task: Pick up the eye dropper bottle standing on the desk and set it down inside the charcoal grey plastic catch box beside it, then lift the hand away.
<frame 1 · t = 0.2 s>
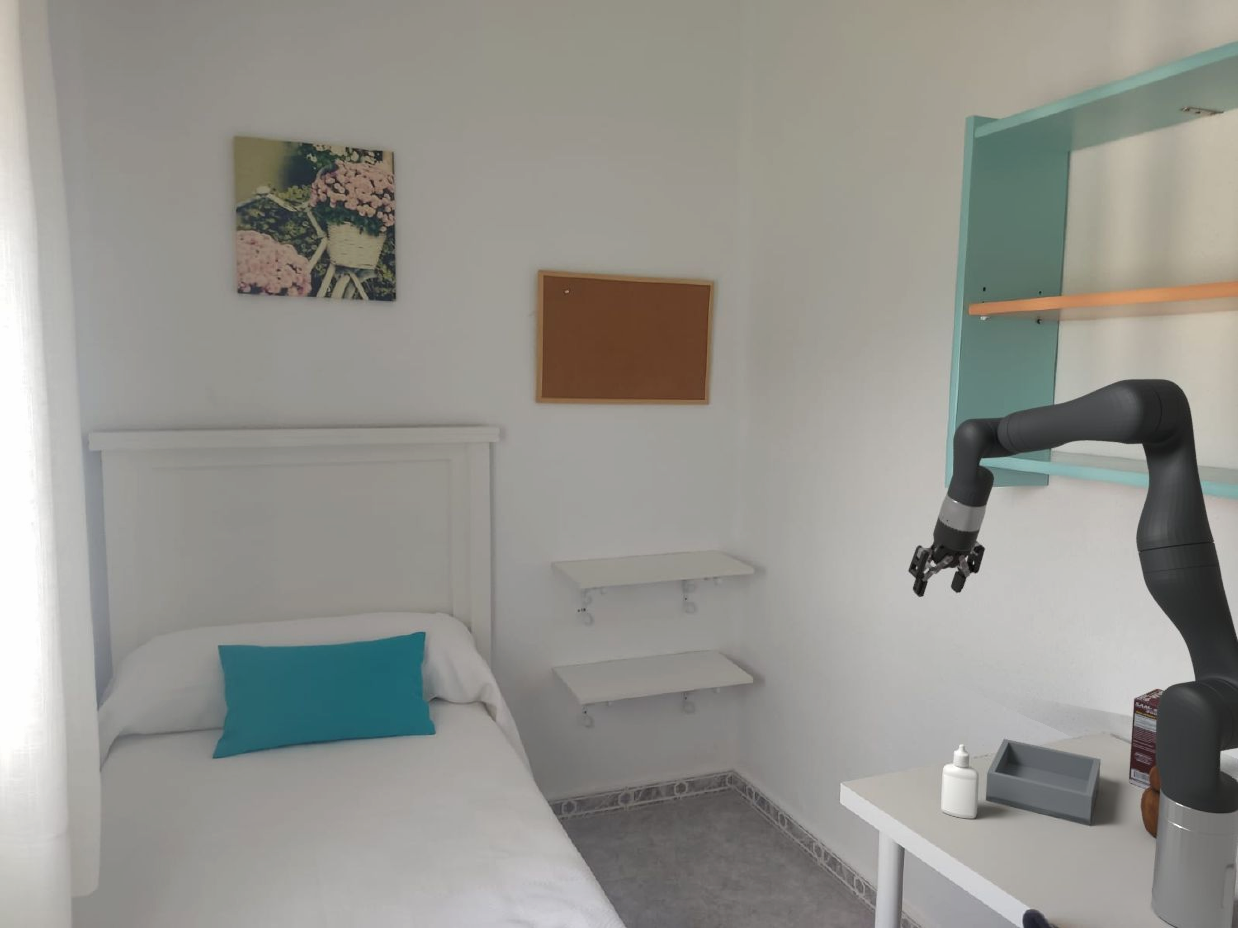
hand: (936, 592, 174), 31 cm above the table, tool tilted 20°, fingers open, 8 cm apart
supplement box: (1152, 782, 164), on the table
wooden figurine: (1161, 835, 146), on the table
catch box: (1043, 792, 160), on the table
eye dropper bottle: (958, 814, 153), on the table
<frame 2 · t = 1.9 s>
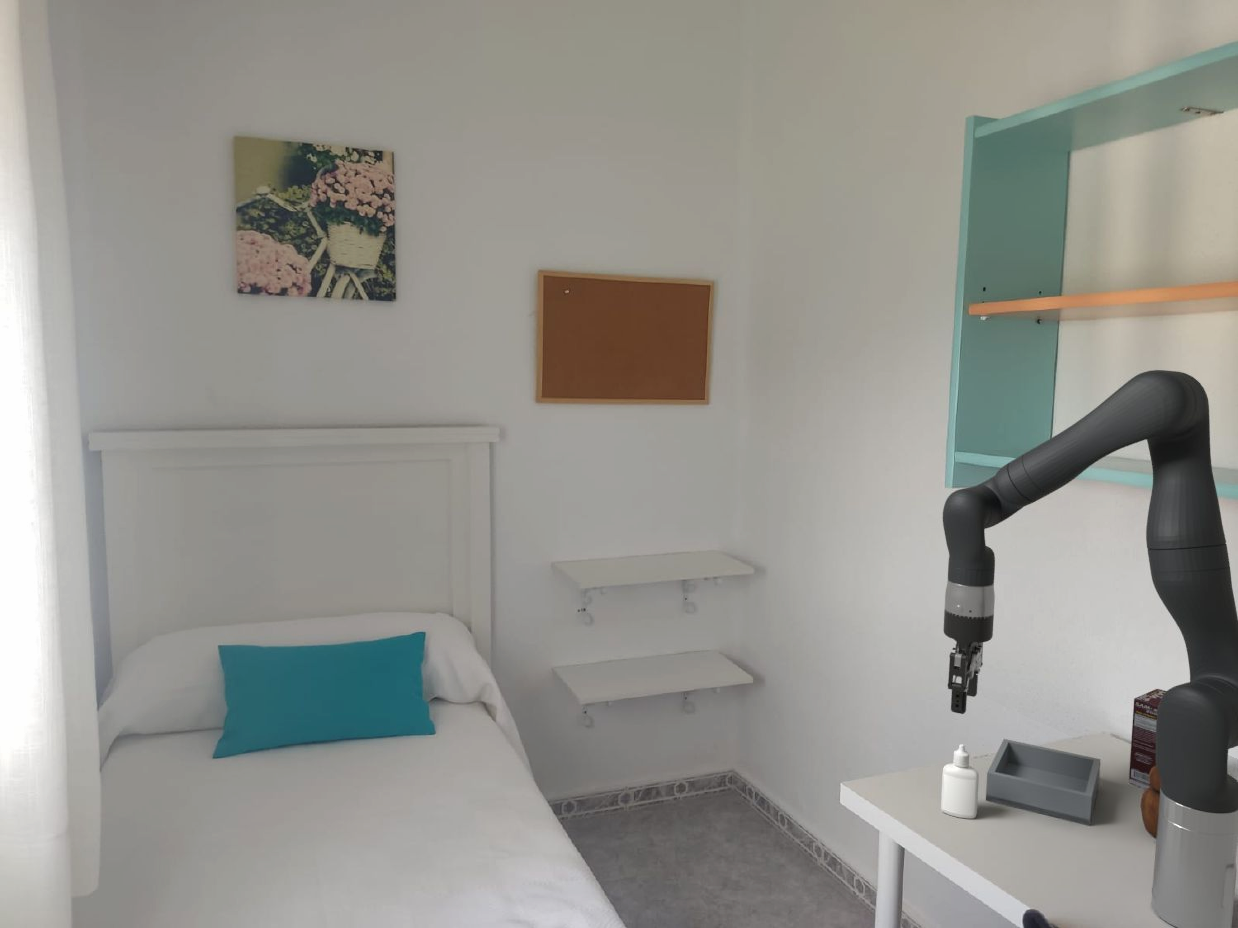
hand: (964, 703, 150), 19 cm above the table, tool pointing down, fingers open, 8 cm apart
nothing on the table moved.
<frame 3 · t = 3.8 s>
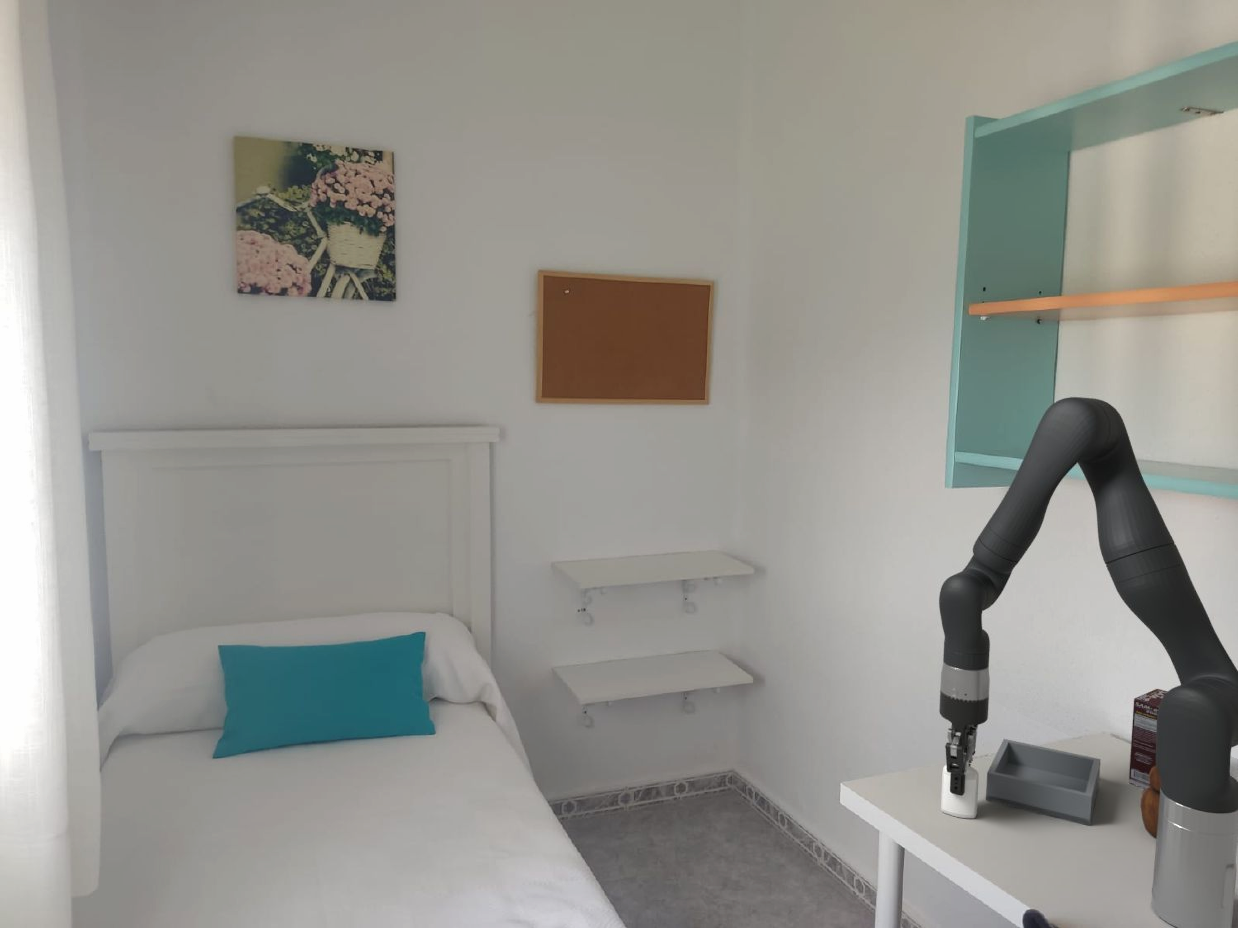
hand: (959, 787, 152), 4 cm above the table, tool pointing down, fingers closed on eye dropper bottle, 3 cm apart
eye dropper bottle: (958, 813, 153), on the table, touching gripper
everything else where it was.
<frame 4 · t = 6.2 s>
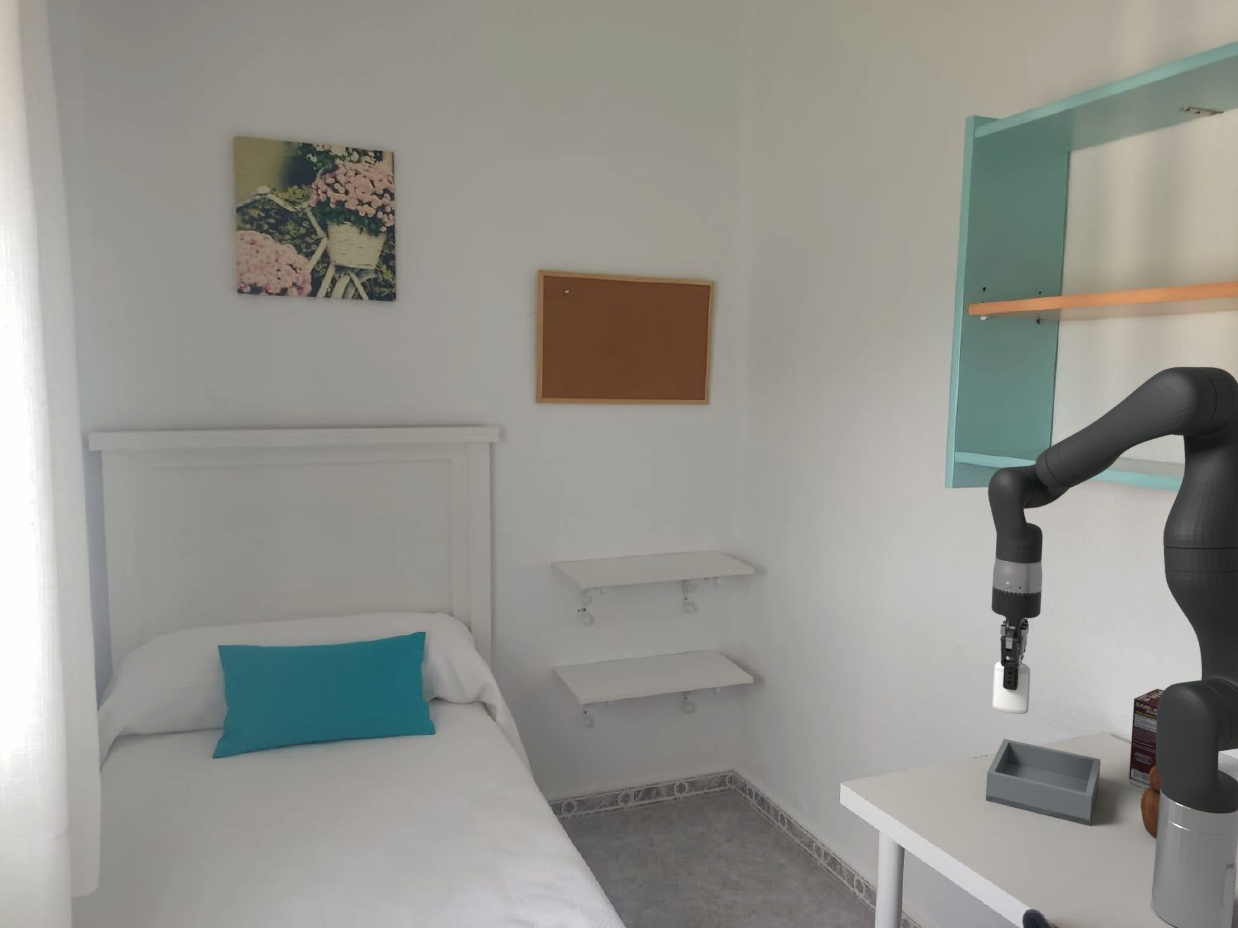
hand: (1011, 684, 154), 21 cm above the table, tool pointing down, fingers closed on eye dropper bottle, 3 cm apart
eye dropper bottle: (1010, 710, 154), point 16 cm above the table, touching gripper
everything else where it was.
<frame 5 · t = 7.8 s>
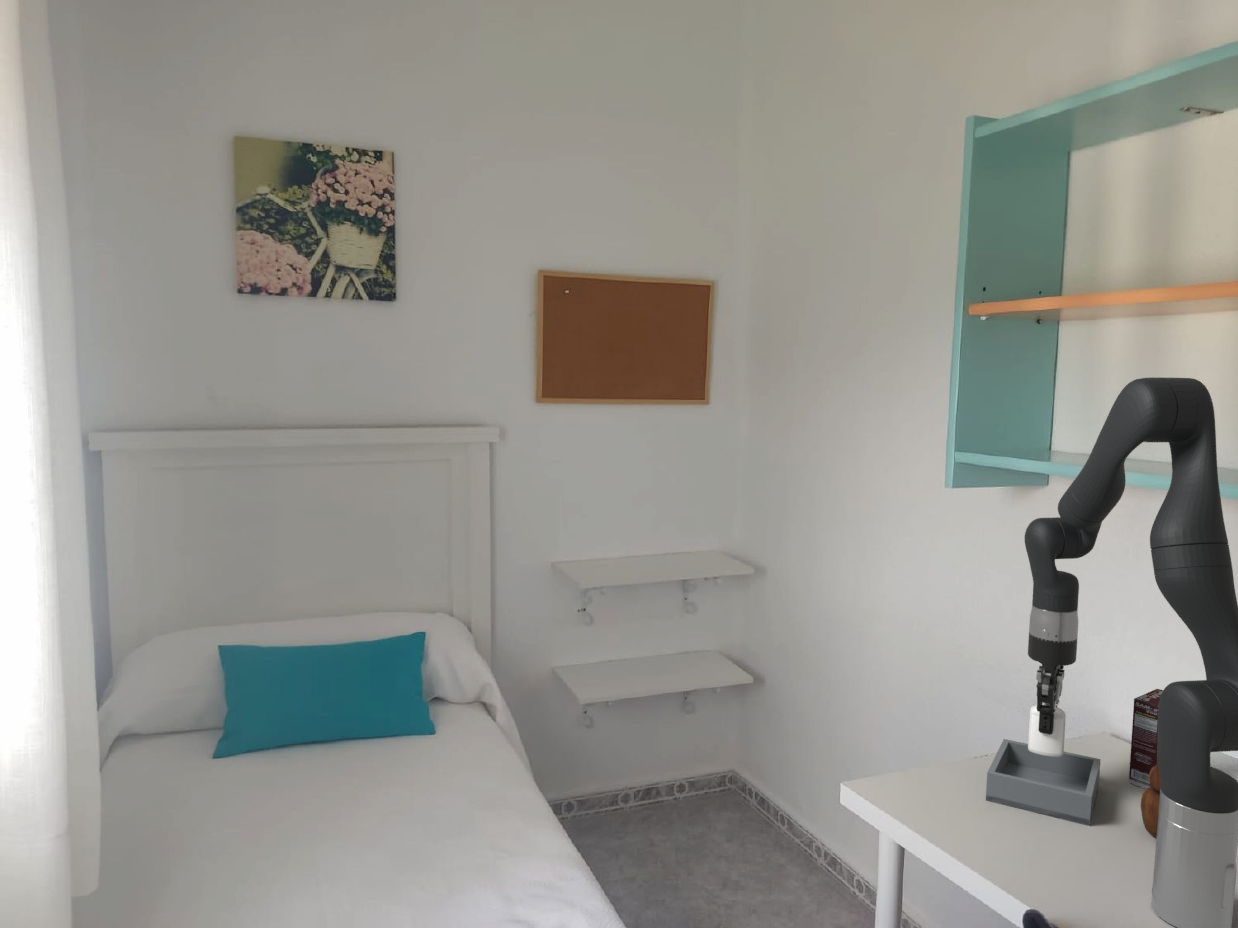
hand: (1047, 728, 158), 12 cm above the table, tool pointing down, fingers closed on eye dropper bottle, 3 cm apart
eye dropper bottle: (1045, 753, 159), point 7 cm above the table, touching gripper
everything else where it was.
when the fingers open (7 cm above the table, at t = 8.9 s): eye dropper bottle drops 1 cm, resting on catch box.
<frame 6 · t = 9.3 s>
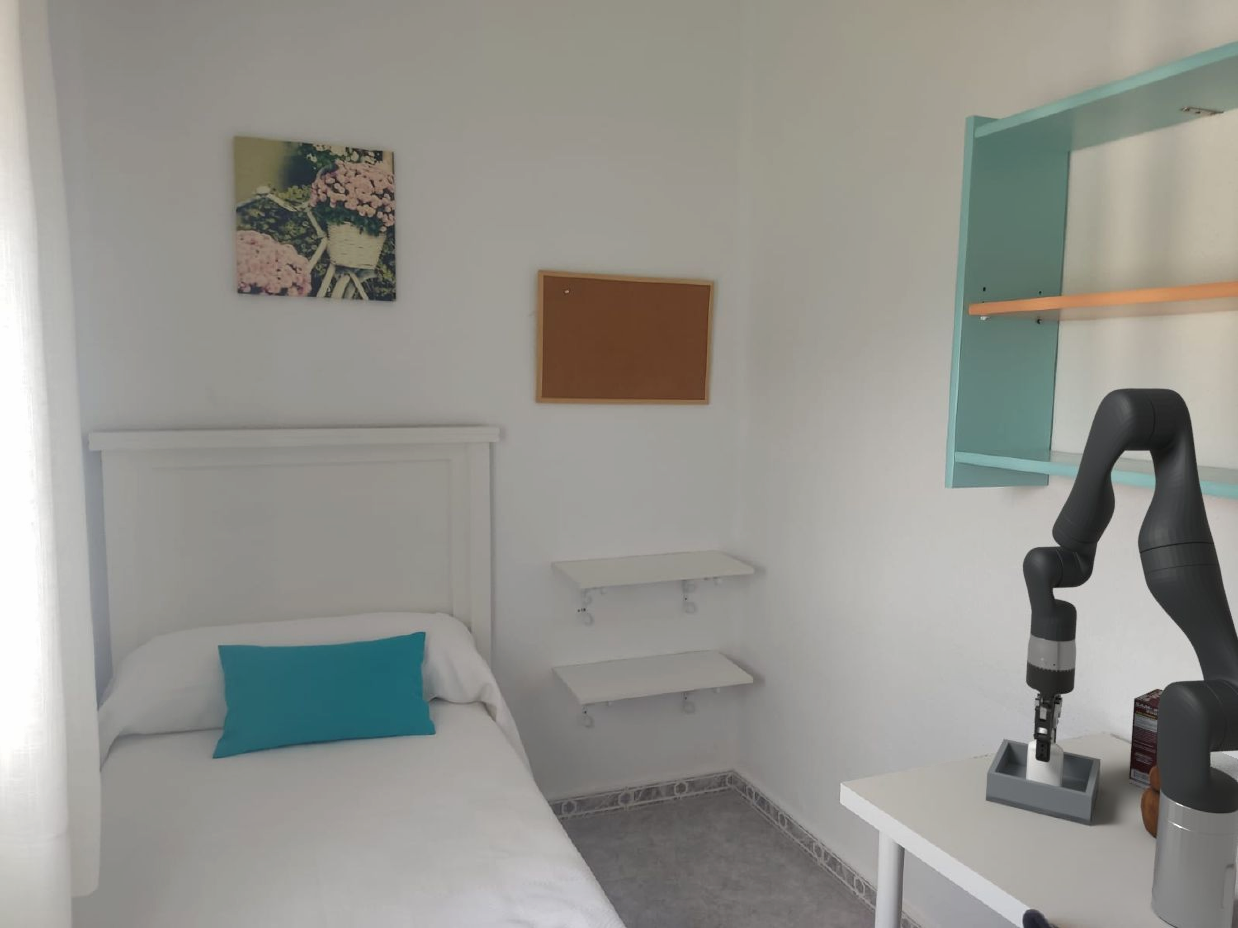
hand: (1045, 752, 159), 7 cm above the table, tool pointing down, fingers open, 7 cm apart
eye dropper bottle: (1043, 788, 159), point 1 cm above the table, touching catch box
everything else where it was.
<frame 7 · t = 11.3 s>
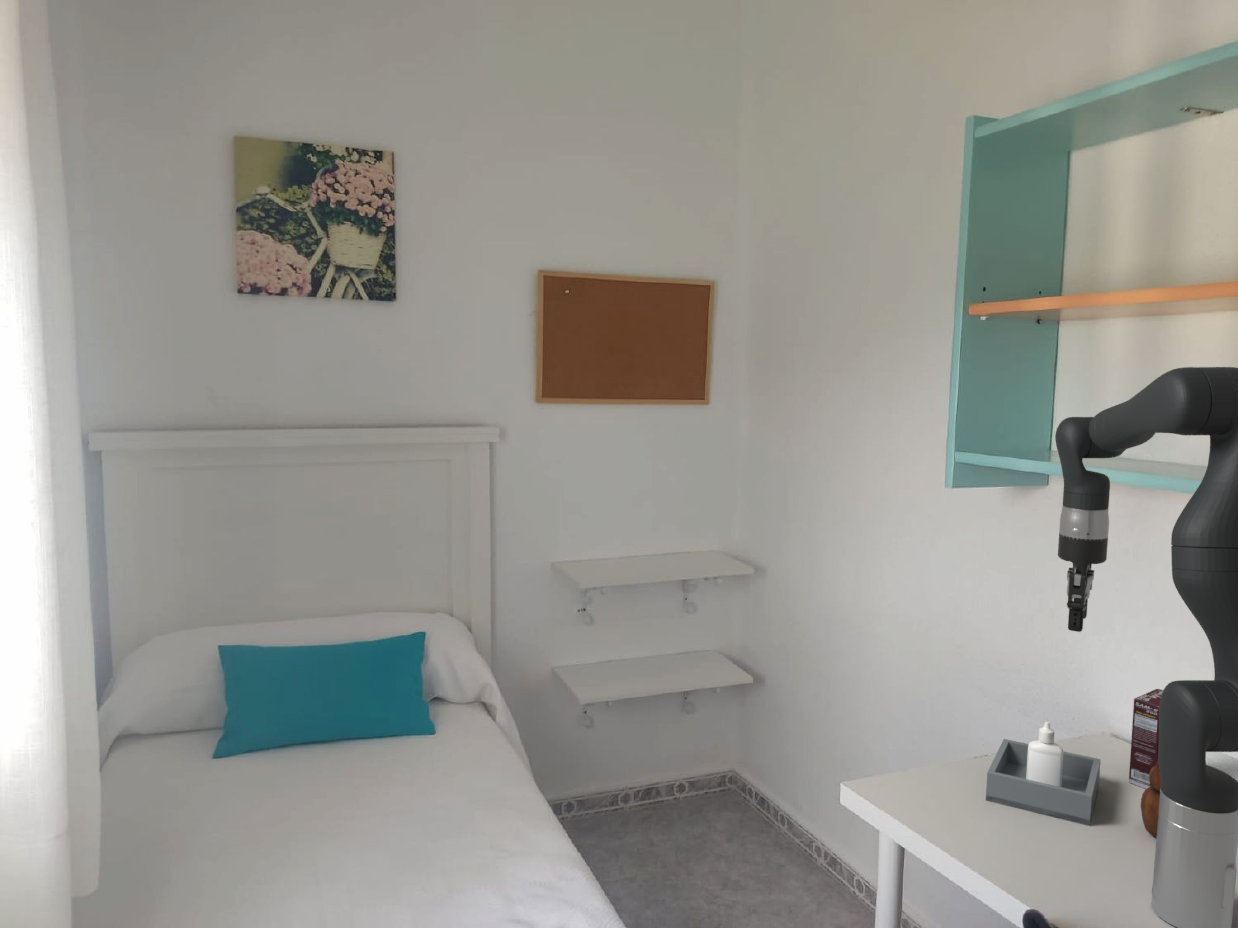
hand: (1077, 623, 159), 30 cm above the table, tool pointing down, fingers open, 8 cm apart
nothing on the table moved.
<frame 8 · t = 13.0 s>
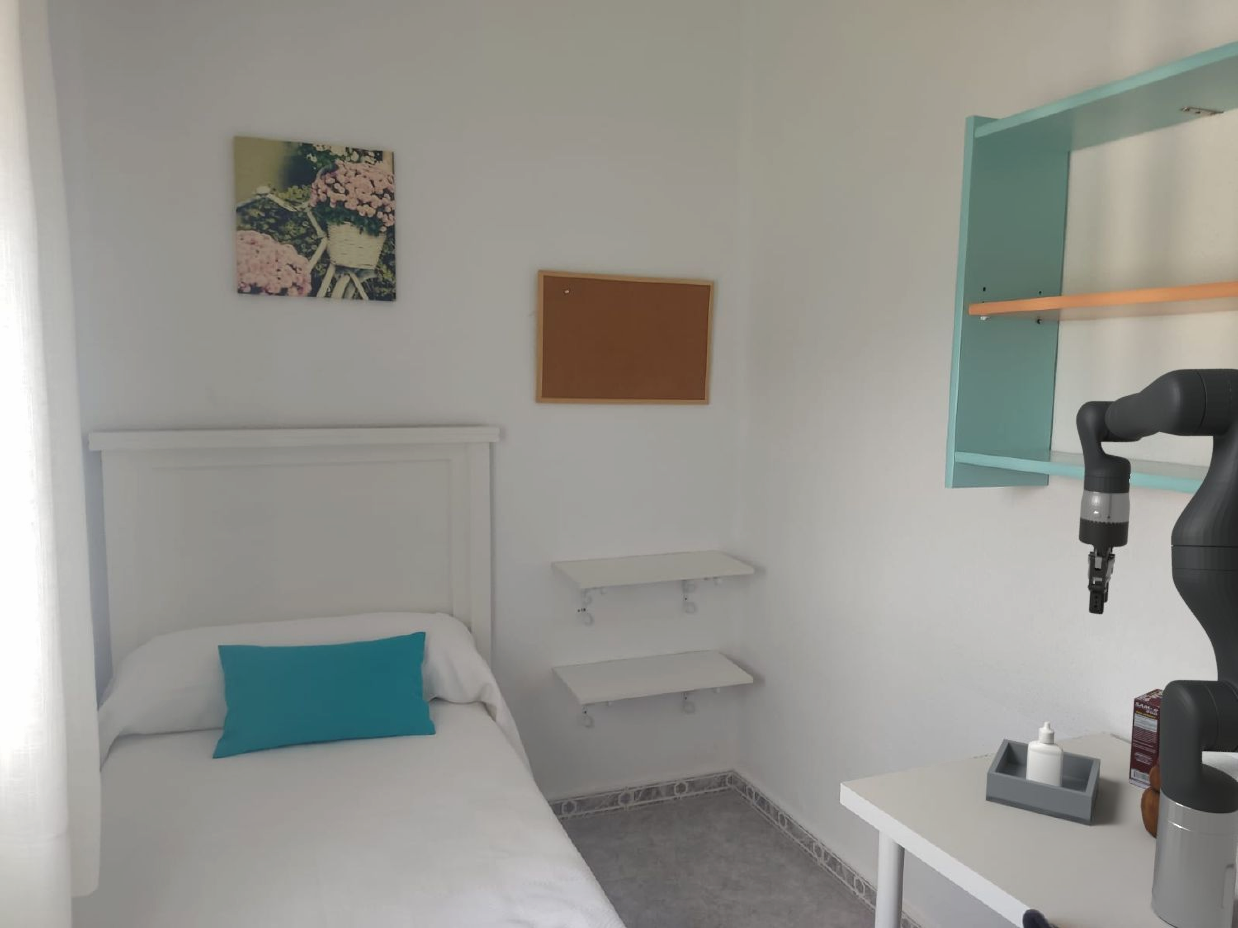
hand: (1098, 607, 160), 32 cm above the table, tool pointing down, fingers open, 8 cm apart
nothing on the table moved.
at the end: eye dropper bottle inside the target area on the catch box (0.2 cm from its centre), point 0.8 cm above the catch box's base; the gripper is holding nothing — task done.
